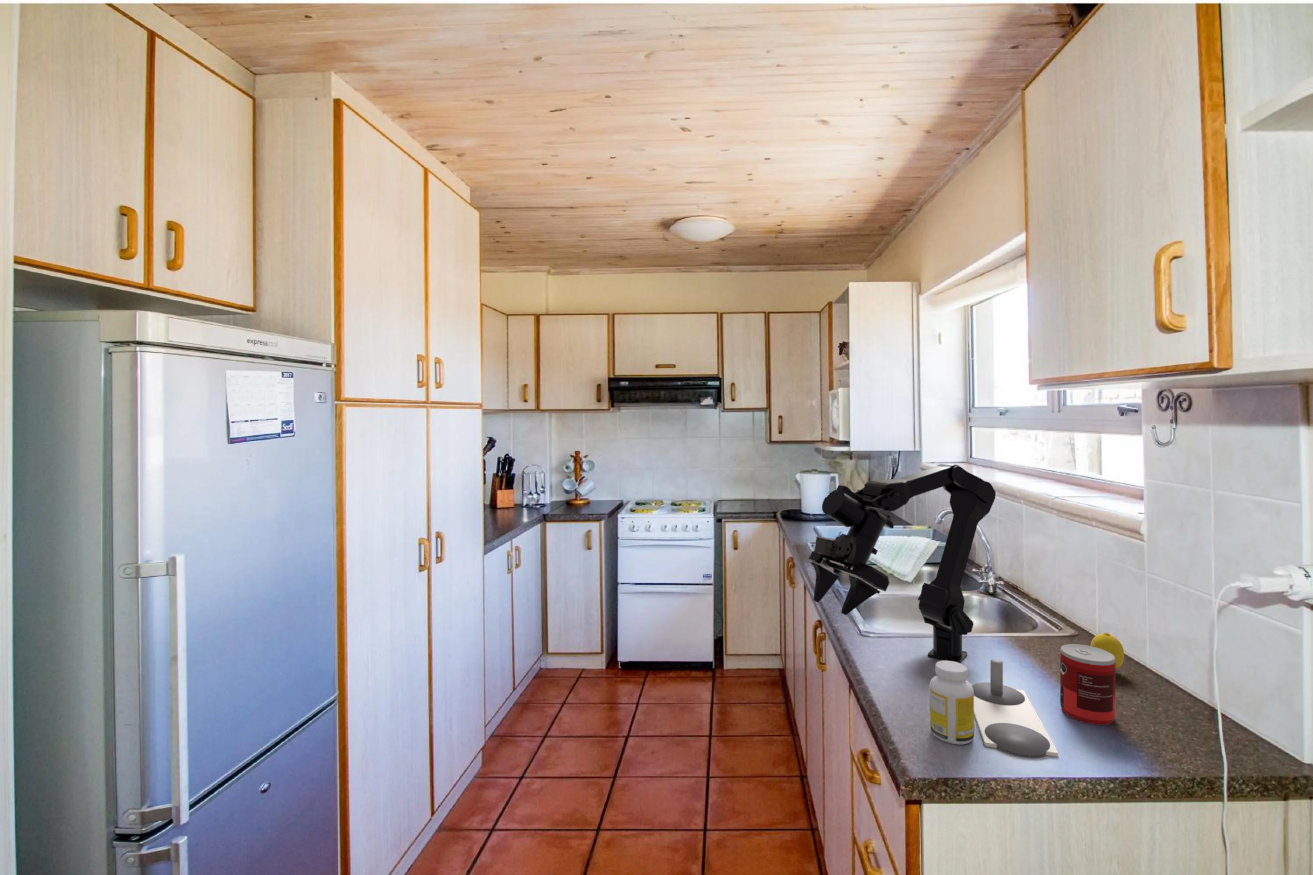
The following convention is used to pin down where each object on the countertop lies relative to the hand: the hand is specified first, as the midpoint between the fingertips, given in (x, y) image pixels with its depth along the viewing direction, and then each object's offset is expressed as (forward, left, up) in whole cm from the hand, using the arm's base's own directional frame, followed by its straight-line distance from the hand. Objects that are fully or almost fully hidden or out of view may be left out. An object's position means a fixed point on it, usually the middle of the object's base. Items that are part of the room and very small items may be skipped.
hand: (828, 607), depth 119 cm
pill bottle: (+6, +24, -15) cm, 29 cm away
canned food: (-15, +40, -15) cm, 46 cm away
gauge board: (-5, +30, -15) cm, 34 cm away
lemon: (-38, +41, -15) cm, 58 cm away
